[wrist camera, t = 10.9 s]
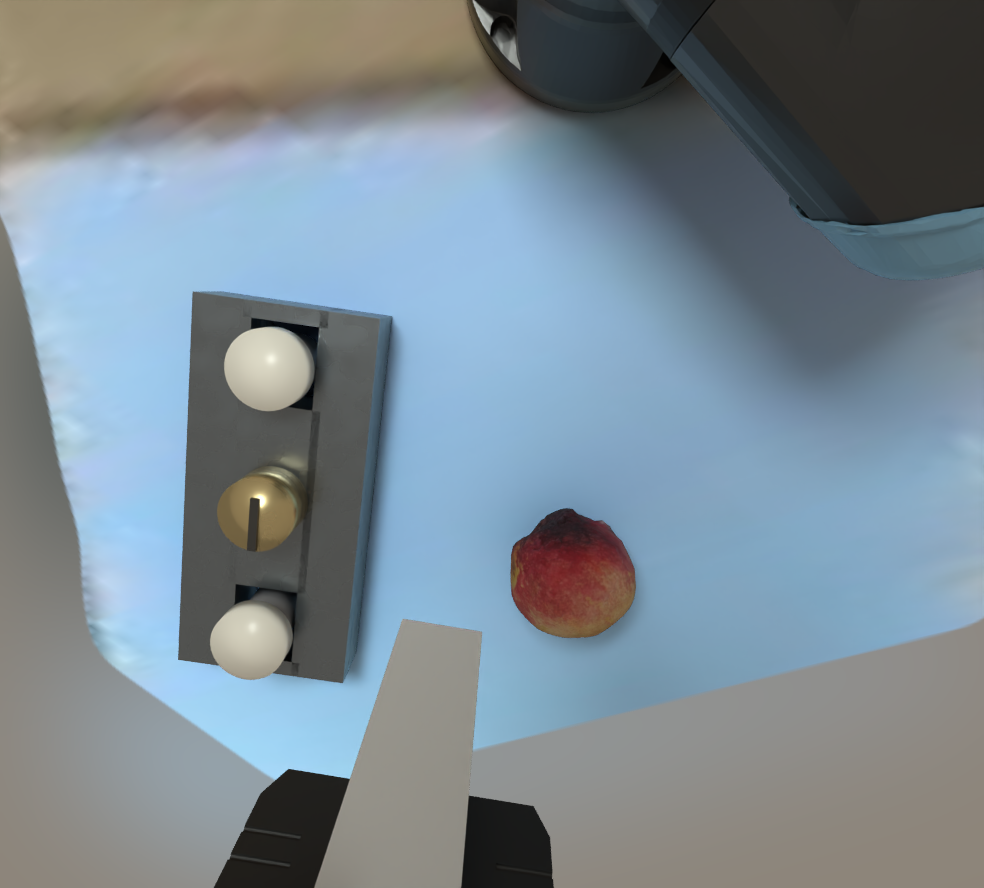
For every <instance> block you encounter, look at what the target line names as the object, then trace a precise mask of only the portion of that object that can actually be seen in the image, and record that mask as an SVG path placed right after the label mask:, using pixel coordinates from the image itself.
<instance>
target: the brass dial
mask: <svg viewBox="0 0 984 888" xmlns="http://www.w3.org/2000/svg"><path fill="white" fill-rule="evenodd" d="M307 507H308V498H307V493H306V490H305V488H304V486H303V484H302V483H301V481H300V480H299V479H298V478H297V477H296V476H295V475H294V474H293V473H291V472H289V471H288V470H286V469H283V468H280V467H276V466H264V467H260V468H257V469H255V470H253V471H251V472H250V473H248V474H247V475H245V476H244V477H243V478H241V479H240V480H238V481H237V482H235V483H234V484H232V485H231V486H230V487H228V488H227V489H226V490H225V492H224V493H223V494H222V496H221V498H220V500H219V503H218V507H217V517H218V522H219V525H220V527H221V530H222V531H223V533H224V534H225V536H226V537H227V538H228V539H229V540H230V541H231V542H232V543H234V544H235V545H237V546H238V547H241V548H243V549H246V550H247V551H253V552H260V551H267V550H270V549H273V548H275V547H277V546H278V545H280V544H281V543H282V542H283V541H284V540H285V539H286V538H287V537H288V536H289V535H290V534H291V532H292V531H293V530H294V529H295V528H296V527H297V526H298V525H299V524H300V522H301V521H302V520H303V518H304V517H305V514H306V511H307Z"/></svg>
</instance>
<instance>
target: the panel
mask: <svg viewBox="0 0 984 888" xmlns="http://www.w3.org/2000/svg"><path fill="white" fill-rule="evenodd" d="M391 320H392V316H387V315H380V314H373V313H366V312H359V311H352V310H345V309H338V308H332V307H325V306H318V305H311V304H304V303H297V302H290V301H283V300H276V299H270V298H263V297H256V296H249V295H242V294H235V293H228V292H193V298H192V323H191V349H190V374H189V400H188V425H187V450H186V476H185V501H184V527H183V552H182V577H181V603H180V628H179V654H178V660H184V661H191V662H198V663H205V664H212V665H219V664H218V663H217V662H216V660H215V659H214V656H213V654H212V651H211V647H210V638H211V633H212V631H213V628H214V627H215V625H216V624H217V623H218V621H219V620H220V619H221V618H222V617H223V616H224V615H225V614H226V612H227V611H228V610H229V609H230V608H231V607H233V606H234V605H236V604H238V603H240V602H243V601H248V600H250V599H251V598H252V596H253V595H254V594H255V593H256V589H257V587H260V588H267V589H274V590H281V591H288V592H295V593H297V603H296V615H295V628H294V630H292V633H293V640H292V645H291V648H290V650H289V652H288V653H287V655H286V656H285V658H284V660H283V661H282V663H281V664H280V666H279V667H278V668H277V670H276V671H274V672H273V673H275V674H282V675H289V676H297V677H304V678H311V679H318V680H325V681H332V682H339V683H343V682H344V679H345V677H346V675H347V672H348V670H349V668H350V665H351V663H352V661H353V658H354V656H355V654H356V651H357V641H358V632H359V622H360V613H361V604H362V594H363V585H364V575H365V566H366V556H367V547H368V537H369V528H370V519H371V509H372V500H373V490H374V481H375V471H376V462H377V453H378V443H379V434H380V424H381V415H382V405H383V396H384V386H385V377H386V368H387V358H388V349H389V339H390V330H391ZM274 321H278V322H285V323H292V324H299V325H306V326H313V327H319V335H318V347H317V359H316V372H315V384H314V396H313V398H312V397H305V396H303V397H302V398H301V399H300V400H298V401H297V402H295V403H293V404H291V405H289V406H287V407H285V408H283V409H280V410H276V411H261V410H257V409H254V408H252V407H249V406H247V405H246V404H244V403H243V402H242V401H240V400H239V399H238V398H237V397H236V396H235V395H234V393H233V392H232V390H231V389H230V387H229V385H228V383H227V380H226V377H225V371H224V362H225V356H226V353H227V351H228V348H229V347H230V345H231V344H232V342H233V341H234V340H235V339H236V338H237V337H238V336H240V335H241V334H242V333H244V332H246V331H249V330H252V329H257V328H263V327H274ZM264 466H276V467H280V468H283V469H286V470H288V471H289V472H291V473H293V474H294V475H295V476H296V477H297V478H298V479H299V480H300V481H301V483H302V484H303V486H304V488H305V490H306V493H307V498H308V507H307V511H306V514H305V517H304V518H303V520H302V521H301V522H300V524H299V525H298V526H297V527H296V528H295V529H294V530H293V531H292V532H291V534H290V535H289V536H288V537H287V538H286V539H285V540H284V541H283V542H282V543H281V544H280V545H278V546H277V547H275V548H273V549H270V550H267V551H260V552H253V551H247V550H246V549H243V548H241V547H238V546H237V545H235V544H234V543H232V542H231V541H230V540H229V539H228V538H227V537H226V536H225V534H224V533H223V531H222V530H221V527H220V525H219V522H218V517H217V507H218V503H219V500H220V498H221V496H222V494H223V493H224V492H225V490H226V489H227V488H228V487H230V486H231V485H232V484H234V483H235V482H237V481H238V480H240V479H241V478H243V477H244V476H245V475H247V474H248V473H250V472H251V471H253V470H255V469H257V468H260V467H264Z"/></svg>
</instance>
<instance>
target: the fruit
mask: <svg viewBox="0 0 984 888" xmlns="http://www.w3.org/2000/svg"><path fill="white" fill-rule="evenodd" d="M510 573H511V592H512V597H513V599H514V602H515V604H516V606H517V608H518V609H519V611H520V612H521V613H522V614H523V615H524V616H525V618H526V619H527V620H528V621H529V622H530V623H532V624H533V625H534V626H535V627H536V628H537V629H539V630H541V631H543V632H546V633H548V634H551V635H555V636H558V637H564V638H581V637H591V636H595V635H598V634H600V633H601V632H603V631H605V630H606V629H608V628H609V627H610V626H612V625H613V624H614V623H616V622H617V621H618V620H619V619H620V618H621V617H622V616H623V615H624V614H625V613H626V612H627V611H628V609H629V608H630V606H631V604H632V602H633V599H634V596H635V589H636V582H635V570H634V566H633V564H632V562H631V560H630V557H629V555H628V553H627V551H626V549H625V547H624V545H623V543H622V541H621V540H620V539H619V538H618V537H617V536H616V535H615V534H614V532H613V531H612V530H611V528H610V526H609V525H607V524H606V523H605V522H604V521H602V520H600V521H593V520H591V519H589V518H587V517H584V516H582V515H579V514H577V513H576V512H575V511H574V510H573V509H568V508H565V509H560V510H558V511H555V512H553V513H551V514H549V515H547V516H546V517H545V519H543V520H541V521H540V523H539V524H538V525H537V526H536V528H535V529H534V531H533V532H532V533H531V534H530V535H528V536H526V537H524V538H522V539H521V540H520V541H518V542H516V543H515V545H514V546H513V549H512V554H511V572H510Z"/></svg>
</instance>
